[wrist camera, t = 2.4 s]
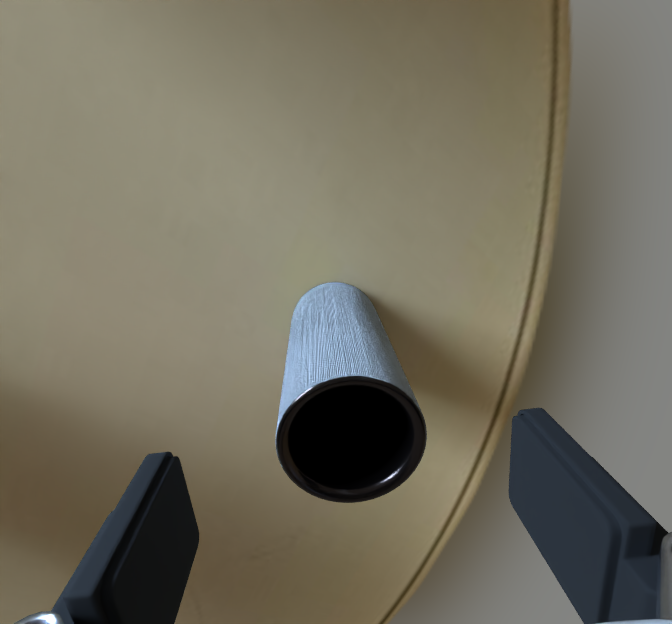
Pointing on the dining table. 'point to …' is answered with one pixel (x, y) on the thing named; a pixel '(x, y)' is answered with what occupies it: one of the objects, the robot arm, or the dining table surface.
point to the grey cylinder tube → (345, 401)
